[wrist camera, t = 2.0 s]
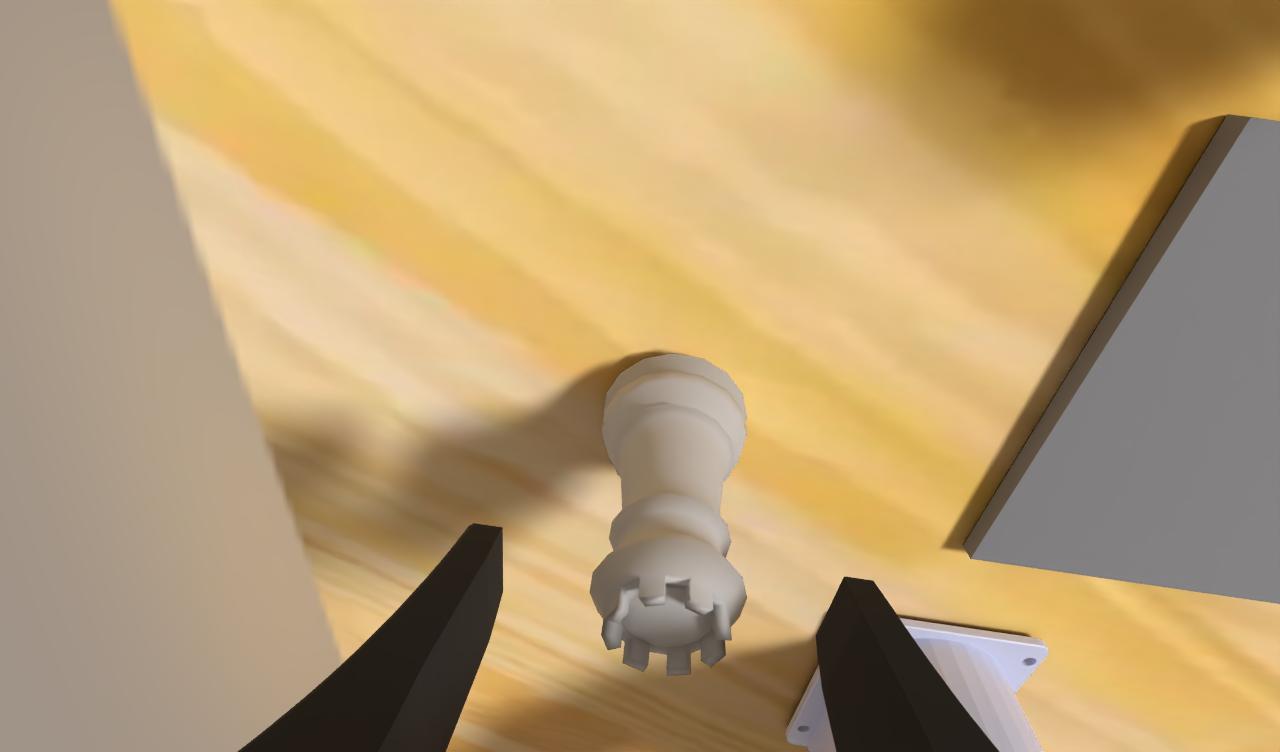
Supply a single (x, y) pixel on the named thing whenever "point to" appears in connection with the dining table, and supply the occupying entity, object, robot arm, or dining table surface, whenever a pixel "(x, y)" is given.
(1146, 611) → the dining table surface
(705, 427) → the rook chess piece
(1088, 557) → the rubber mat
